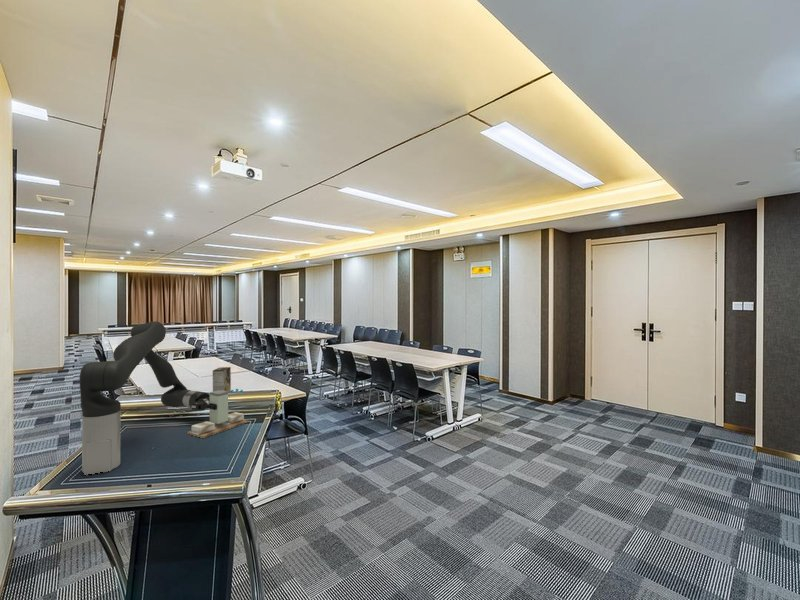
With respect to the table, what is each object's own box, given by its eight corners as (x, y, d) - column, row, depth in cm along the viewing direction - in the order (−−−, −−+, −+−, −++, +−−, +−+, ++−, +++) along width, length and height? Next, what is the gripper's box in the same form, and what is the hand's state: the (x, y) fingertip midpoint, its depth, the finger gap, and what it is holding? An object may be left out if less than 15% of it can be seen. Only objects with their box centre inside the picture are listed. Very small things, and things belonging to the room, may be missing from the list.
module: (218, 423, 143) (218, 394, 143) (209, 421, 145) (209, 392, 145) (228, 420, 147) (228, 391, 147) (219, 418, 149) (219, 390, 149)
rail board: (203, 438, 135) (203, 429, 135) (187, 434, 139) (187, 424, 139) (247, 423, 152) (247, 414, 152) (232, 419, 157) (232, 411, 157)
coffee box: (219, 395, 198) (219, 367, 198) (231, 395, 199) (231, 366, 199) (212, 400, 189) (212, 370, 189) (224, 399, 189) (224, 369, 190)
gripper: (180, 395, 147) (205, 400, 139) (212, 388, 159) (237, 392, 151) (179, 413, 147) (205, 419, 139) (212, 404, 159) (237, 410, 151)
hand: (222, 405), depth 145 cm, fingers closed on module, 4 cm apart
